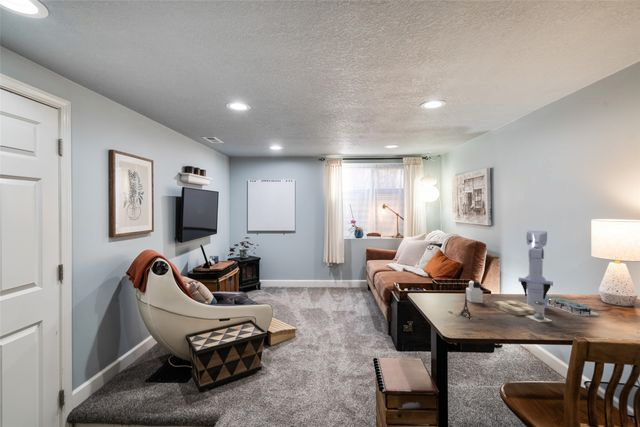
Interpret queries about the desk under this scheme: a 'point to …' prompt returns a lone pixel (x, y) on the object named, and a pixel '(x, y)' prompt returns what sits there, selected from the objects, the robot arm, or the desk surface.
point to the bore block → (514, 307)
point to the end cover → (539, 310)
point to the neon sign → (573, 307)
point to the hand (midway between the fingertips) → (534, 297)
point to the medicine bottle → (474, 292)
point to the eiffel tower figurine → (464, 310)
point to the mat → (538, 319)
